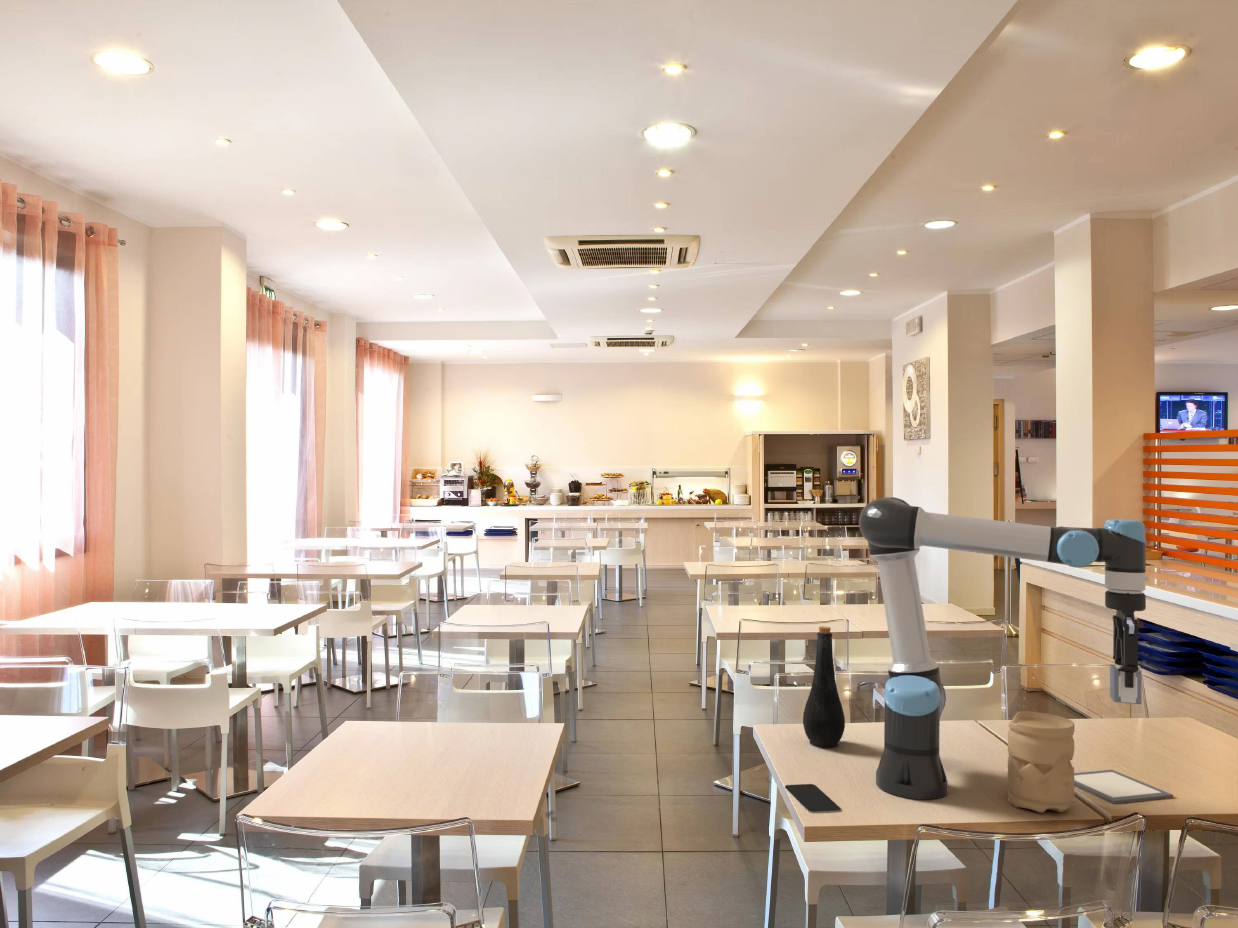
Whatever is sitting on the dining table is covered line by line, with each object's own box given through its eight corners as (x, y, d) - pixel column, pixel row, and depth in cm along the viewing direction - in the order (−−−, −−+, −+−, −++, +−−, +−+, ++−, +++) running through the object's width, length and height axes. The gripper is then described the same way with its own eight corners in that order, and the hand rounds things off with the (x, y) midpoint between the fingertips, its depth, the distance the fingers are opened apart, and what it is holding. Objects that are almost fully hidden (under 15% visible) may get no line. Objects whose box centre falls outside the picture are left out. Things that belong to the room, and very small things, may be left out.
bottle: (850, 741, 215) (851, 626, 215) (837, 752, 206) (838, 632, 206) (810, 734, 220) (811, 622, 221) (796, 744, 211) (798, 628, 212)
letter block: (1141, 704, 174) (1141, 669, 174) (1114, 702, 176) (1114, 667, 176) (1136, 698, 179) (1136, 665, 179) (1109, 696, 181) (1109, 662, 181)
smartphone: (814, 783, 184) (842, 809, 169) (814, 786, 184) (842, 812, 169) (782, 784, 182) (809, 811, 168) (782, 787, 182) (809, 814, 168)
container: (1010, 811, 170) (1010, 723, 171) (1005, 790, 182) (1005, 708, 182) (1079, 820, 166) (1079, 731, 166) (1069, 798, 178) (1069, 715, 178)
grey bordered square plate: (1113, 803, 175) (1113, 800, 175) (1055, 777, 191) (1055, 774, 191) (1173, 797, 179) (1173, 794, 179) (1111, 771, 195) (1111, 769, 195)
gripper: (1155, 597, 168) (1155, 711, 168) (1136, 587, 185) (1136, 690, 184) (1113, 594, 171) (1113, 707, 170) (1098, 585, 188) (1098, 687, 187)
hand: (1125, 698), depth 177 cm, fingers closed on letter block, 5 cm apart
